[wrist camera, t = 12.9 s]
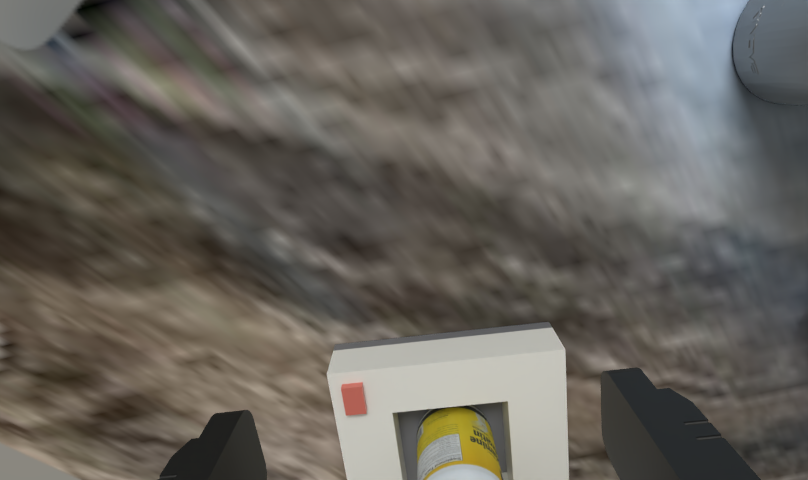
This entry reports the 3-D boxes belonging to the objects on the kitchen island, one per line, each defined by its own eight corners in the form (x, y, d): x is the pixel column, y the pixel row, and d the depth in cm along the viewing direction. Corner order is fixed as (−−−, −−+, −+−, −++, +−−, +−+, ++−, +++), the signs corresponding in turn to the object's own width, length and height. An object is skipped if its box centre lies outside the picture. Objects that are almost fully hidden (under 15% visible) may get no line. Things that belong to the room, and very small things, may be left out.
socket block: (548, 321, 41) (567, 353, 36) (555, 494, 46) (572, 541, 42) (335, 344, 42) (325, 378, 37) (365, 511, 47) (361, 560, 42)
